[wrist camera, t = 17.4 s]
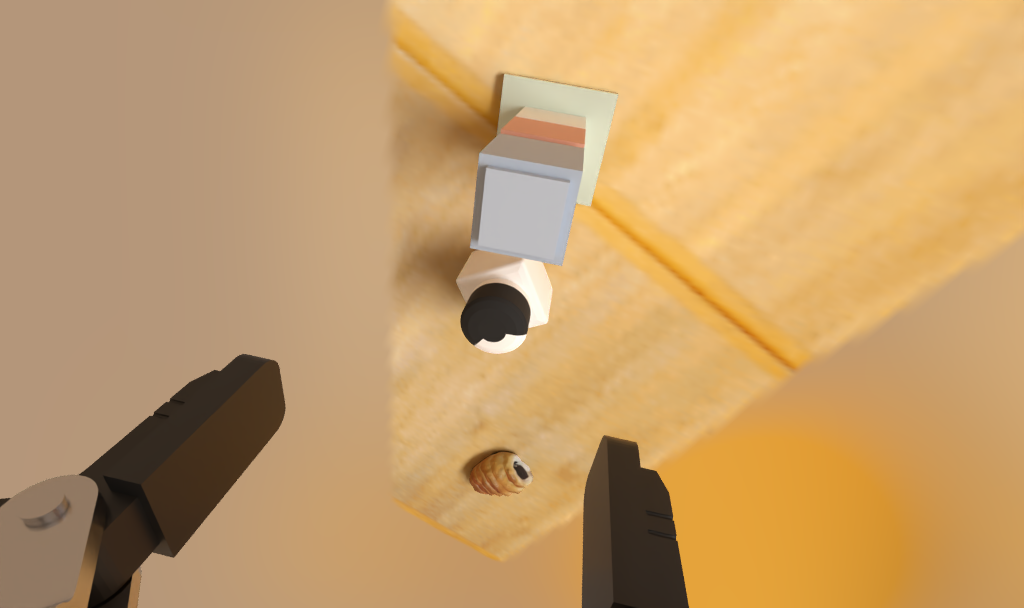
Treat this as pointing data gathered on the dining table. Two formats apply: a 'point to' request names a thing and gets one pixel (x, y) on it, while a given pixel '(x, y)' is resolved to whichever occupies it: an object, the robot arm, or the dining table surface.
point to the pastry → (501, 475)
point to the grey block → (526, 198)
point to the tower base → (567, 104)
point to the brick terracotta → (545, 131)
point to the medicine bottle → (502, 299)
